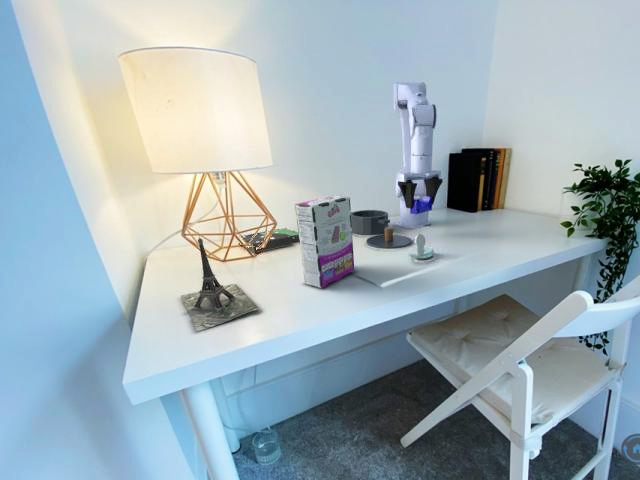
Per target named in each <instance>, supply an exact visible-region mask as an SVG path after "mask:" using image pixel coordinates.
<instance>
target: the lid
mask: <svg viewBox="0 0 640 480" xmlns="http://www.w3.org/2000/svg"><path fill="white" fill-rule="evenodd" d="M365 240H366V241H365V242H366V244H367V245H368V246H370V247H371V248H376V249H385V250H386V249H387V250H388V249H391V250H392V249H400V248H405V247H407V246H410V245H411V244H412V243H413V242H412V238H410V237H409V236H407V235H402V234H401V235H400V234H394V227H393V226H388V227H385V233H384V234H380V235H372V236H370V237H368V238H367V239H365Z"/></svg>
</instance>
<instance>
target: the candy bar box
mask: <svg viewBox="0 0 640 480" xmlns="http://www.w3.org/2000/svg"><path fill="white" fill-rule="evenodd" d="M294 208H295V209H294V210H295V216H296V222H297V223H296V225H297V232H299V240H300V242H299V246H300V254H301V261H302V269H303V270H302V271H303V279H304V284H305V285H307V286H311V287H314V288H318V289H324V288H326V287H329V286H330V285H332V284H334V283H336V282H337V281H338V282H339V280H341V279H343V278H345V277H347V276H348V275H351V274H353V272H354V271H355V258H354V257H355V256H354V255H355V254H354V241H353V233H352V223H351V212H352V210H351V209H352V208H351V197H350V196H344V195H329V196H325V197H320V198H316V199H312V200H311V199H310V200H308V201H307V200H306V201H302V202H299V203H294Z"/></svg>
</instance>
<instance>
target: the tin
mask: <svg viewBox="0 0 640 480" xmlns="http://www.w3.org/2000/svg"><path fill="white" fill-rule="evenodd" d="M351 223H352V234H354V235H359V236H377V235H385V227H389V224H390V223H391V219H389V213H388V212H387V211H385V210H378V209H366V210H365V209H363V210H362V209H361V210H356V211H351Z"/></svg>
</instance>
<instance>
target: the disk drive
mask: <svg viewBox="0 0 640 480" xmlns="http://www.w3.org/2000/svg"><path fill="white" fill-rule="evenodd" d="M274 230H275V231H274V232H273V234H272V236H271V238H270V239H269V241H268V243H267V245H266V247H265V248H261V249H257V250H256V247H259V246H260V245H261V244H262V243H263V242H264V238H265V234H266V231H260V232H256V233H257V235H256V236H255V237H254V238H253V240H252V241H251V242H250V244H251V245H253V246H255V247H249V248H248V247H247V249H248V250H247V249H246V248H244V249H246V250H247V251H249V252H251V253H260V252H265V251H270V250H271V251H272V250H275V249H279V248H282V247H287V246H293V244H295V243H300V240H299V232H298V231H296V230H291V229H288V228H287V227H285V228H277V229H276V228H275V229H274ZM254 234H255V233H250V234H243V235H240V236H241V237H242V238H243V240H244V241H245V242H246V243H249V241H250V240H251V238H252V236H253V235H254ZM237 243H238V242H237ZM237 245H238V246H240V243H238V244H237Z"/></svg>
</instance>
